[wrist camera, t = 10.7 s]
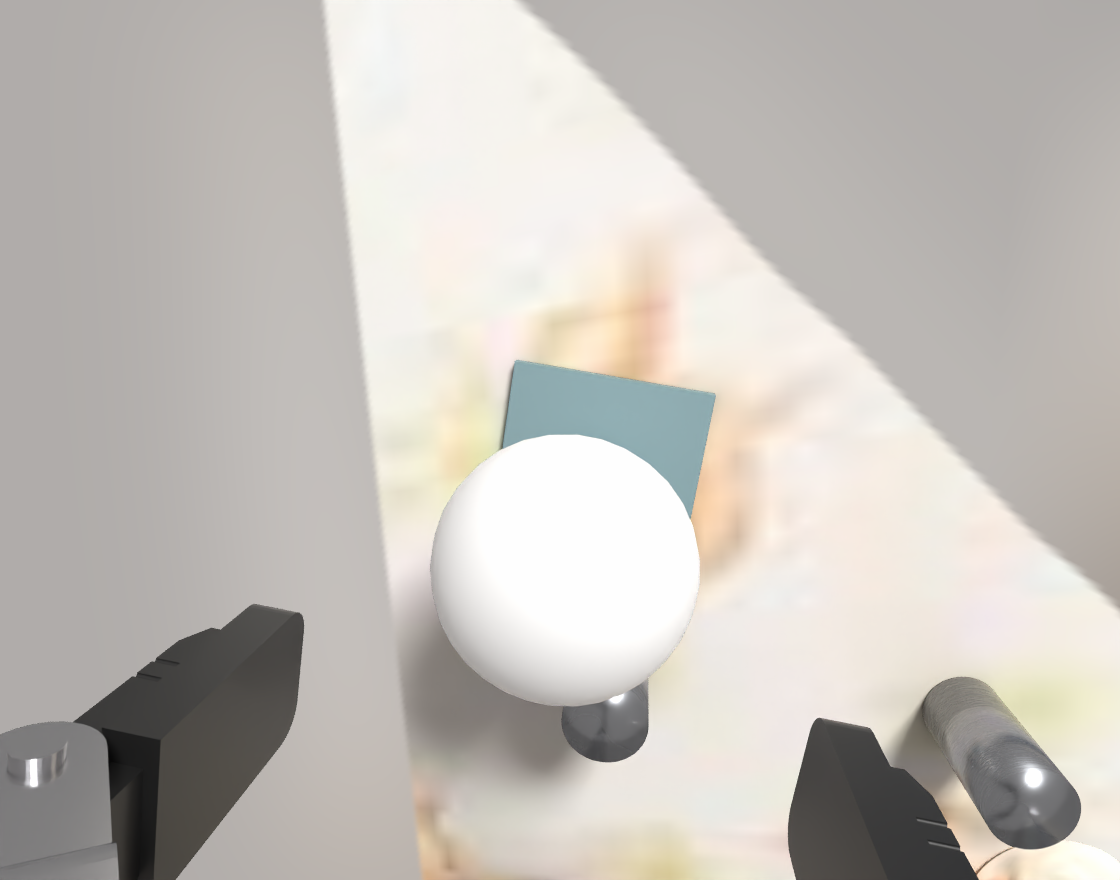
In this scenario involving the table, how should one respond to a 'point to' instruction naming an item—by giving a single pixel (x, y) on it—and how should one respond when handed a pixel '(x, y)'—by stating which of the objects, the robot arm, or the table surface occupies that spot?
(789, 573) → the table surface
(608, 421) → the mat
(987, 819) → the spacers
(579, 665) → the lightbulb
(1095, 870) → the beer glass
